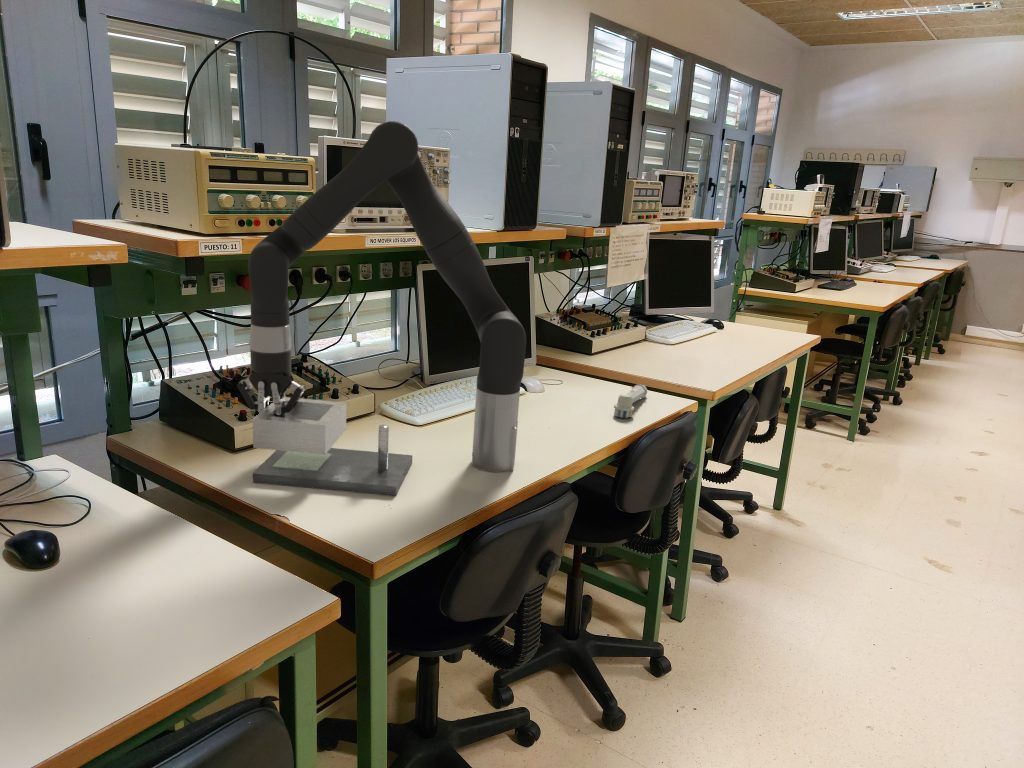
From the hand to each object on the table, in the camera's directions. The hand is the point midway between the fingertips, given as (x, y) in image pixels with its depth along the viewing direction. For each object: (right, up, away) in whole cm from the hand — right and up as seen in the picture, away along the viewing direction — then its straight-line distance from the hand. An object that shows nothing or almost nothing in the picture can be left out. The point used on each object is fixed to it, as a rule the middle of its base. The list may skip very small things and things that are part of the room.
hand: (272, 429), depth 143 cm
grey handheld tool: (+82, +2, +59) cm, 101 cm away
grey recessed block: (+6, -2, 0) cm, 6 cm away
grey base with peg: (+12, -9, +2) cm, 15 cm away
